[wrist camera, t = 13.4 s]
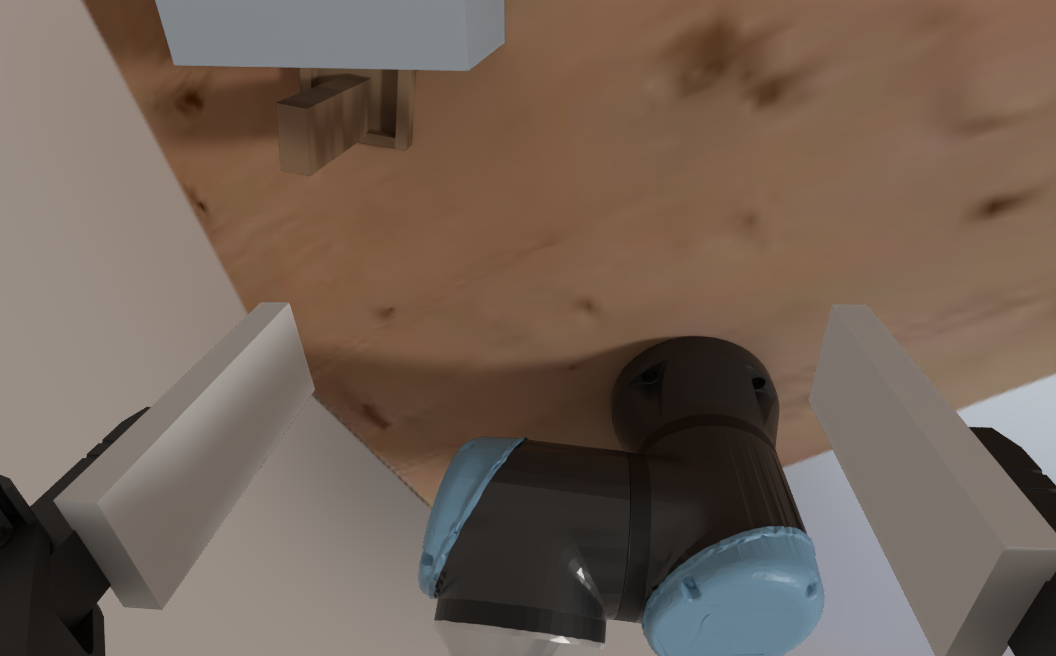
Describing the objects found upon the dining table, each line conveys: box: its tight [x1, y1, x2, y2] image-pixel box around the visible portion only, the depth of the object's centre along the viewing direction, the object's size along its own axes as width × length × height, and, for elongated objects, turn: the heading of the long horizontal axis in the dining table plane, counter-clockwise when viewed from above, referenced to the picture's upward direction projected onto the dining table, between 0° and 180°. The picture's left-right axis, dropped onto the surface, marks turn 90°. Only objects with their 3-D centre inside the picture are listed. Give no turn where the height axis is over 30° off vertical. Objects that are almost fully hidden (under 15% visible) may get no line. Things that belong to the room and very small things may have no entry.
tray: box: [276, 68, 416, 176], centre depth 37 cm, size 16×8×12 cm, turn 171°
